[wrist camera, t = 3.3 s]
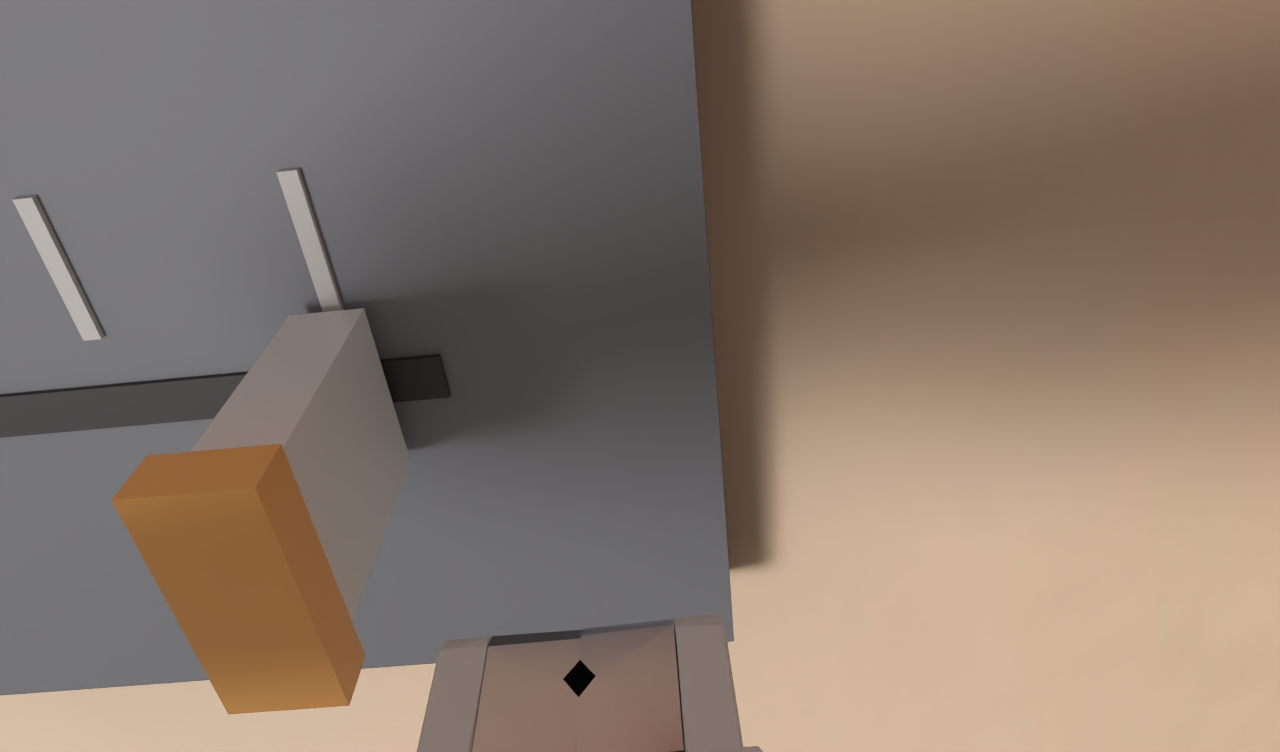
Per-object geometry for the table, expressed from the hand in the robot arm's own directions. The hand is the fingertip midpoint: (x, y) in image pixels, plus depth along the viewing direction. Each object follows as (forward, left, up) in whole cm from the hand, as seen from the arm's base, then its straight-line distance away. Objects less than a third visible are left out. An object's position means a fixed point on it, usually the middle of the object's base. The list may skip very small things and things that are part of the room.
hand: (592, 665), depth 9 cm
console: (+9, 0, -8) cm, 12 cm away
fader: (+4, 0, -6) cm, 7 cm away
